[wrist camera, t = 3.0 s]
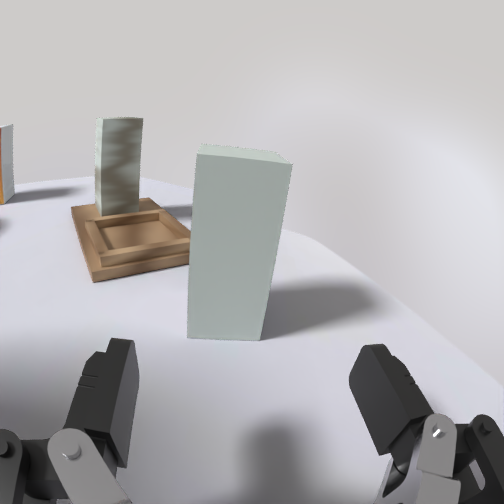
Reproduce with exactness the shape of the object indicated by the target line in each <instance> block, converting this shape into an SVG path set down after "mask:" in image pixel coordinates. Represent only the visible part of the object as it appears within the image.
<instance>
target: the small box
mask: <svg viewBox="0 0 504 504" xmlns="http://www.w3.org/2000/svg"><path fill="white" fill-rule="evenodd" d="M14 194H15V191H14V175H13V124H11V125H5V126H0V204H5V203H6V202H7V201H8V200H9V199H10V198H11V197H12V196H13V195H14Z"/></svg>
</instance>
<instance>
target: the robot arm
mask: <svg viewBox="0 0 504 504" xmlns="http://www.w3.org/2000/svg"><path fill="white" fill-rule="evenodd" d="M410 375H411V374H410V373H409V371H408V369H407V368H406V366H405V365H404V364H403V363H402V362H401V361H400V360H399V359H397V358H396V357H395V356H392V355H391V353H390V352H389V350H388V349H387V347H386V346H385V345H384V344H373V345H365V346H363V347H362V349H361V351H360V353H359V355H358V357H357V360H356V362H355V364H354V366H353V368H352V370H351V372H350V375H349V386H350V389H351V391H352V394H353V396H354V398H355V400H356V403H357V405H358V407H359V410H360V412H361V414H362V416H363V419H364V421H365V423H366V426H367V428H368V430H369V433H370V435H371V438H372V440H373V442H374V445H375V447H376V449H377V452H378V454H379V456H380V455H384V454H388V453H391V455H392V458H391V459H390V460H389V463H388V466H387V469H386V472H385V475H384V478H383V481H382V484H381V486H380V489H379V492H378V495H377V497H376V500H375V502H374V503H373V504H504V436H503V434H502V432H501V431H500V429H499V427H498V426H497V424H496V422H495V421H494V420H493V419H492V418H491V417H489V416H487V415H483V414H480V415H477V416H476V417H475V418H474V419H473V420H472V421H471V422H470V424H454V423H453V421H452V420H451V419H450V418H448V417H447V416H445V415H442V414H435V413H434V412H433V410H432V409H431V407H430V405H429V404H428V402H427V400H426V399H425V397H424V395H423V394H422V392H421V390H420V389H419V387H418V385H417V384H415V381H414V379H413V377H412V376H410ZM138 388H139V369H138V363H137V356H136V350H135V343H134V341H133V340H126V339H118V338H111V340H110V342H109V345H108V348H107V351H106V353H105V352H98V351H96V352H95V353H94V354H93V355H92V356H91V357H90V358H89V359H88V360H87V361H86V364H85V366H84V369H83V372H82V376H81V377H80V380H79V383H78V387H77V389H76V392H75V395H74V398H73V401H72V404H71V407H70V410H69V413H68V417H67V420H66V423H65V425H64V427H63V429H62V430H60V431H58V432H56V433H55V434H54V435H53V436H52V437H51V438H49V439H43V440H20V439H19V438H18V437H17V436H16V435H15V434H14V433H13V432H11V431H9V430H6V429H0V504H56V501H57V499H70V500H71V502H72V504H133V503H132V502H131V501H130V499H129V498H128V497H127V495H126V494H125V492H124V491H123V490H122V488H121V487H120V485H119V484H118V482H117V481H116V471H117V467H122V468H127V460H128V452H129V445H130V437H131V431H132V424H133V417H134V411H135V405H136V399H137V394H138ZM475 459H476V461H477V463H478V465H479V467H480V469H481V471H482V474H483V476H484V478H485V482H486V483H485V487H484V489H483V490H480V489H479V487H478V484H477V482H476V480H475V478H474V475H473V473H472V471H471V469H470V467H469V464H470V463H472V462H473V461H474V460H475Z"/></svg>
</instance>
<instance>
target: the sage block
mask: <svg viewBox="0 0 504 504" xmlns="http://www.w3.org/2000/svg"><path fill="white" fill-rule="evenodd" d="M292 165H293V164H291V163H290V162H289V161H287V160H286V159H284V158H283V157H281V156H280V155H279V154H277V153H276V152H272V151H265V150H257V149H248V148H239V147H229V146H219V145H207V144H201V146H200V148H199V150H198V153H197V159H196V170H195V182H194V193H193V206H192V221H191V237H190V255H189V278H188V310H187V338H197V339H217V340H245V341H260V337H261V332H262V327H263V322H264V317H265V312H266V307H267V302H268V297H269V292H270V287H271V282H272V276H273V271H274V266H275V261H276V255H277V250H278V244H279V239H280V234H281V228H282V222H283V216H284V211H285V206H286V200H287V194H288V189H289V183H290V177H291V171H292Z"/></svg>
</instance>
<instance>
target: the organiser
mask: <svg viewBox="0 0 504 504" xmlns="http://www.w3.org/2000/svg"><path fill="white" fill-rule="evenodd" d="M142 126H143V118H135V117H124V118H123V117H122V118H121V117H120V118H119V117H118V118H97V125H96V146H95V204H90V205H82V206H75V207H71V212H72V217H73V221H74V224H75V228H76V231H77V235H78V238H79V242H80V245H81V248H82V251H83V255H84V258H85V261H86V264H87V267H88V270H89V273H90V275H91V278H92V281H93V282H98V281H103V280H108V279H113V278H118V277H123V276H128V275H133V274H138V273H143V272H148V271H153V270H158V269H163V268H168V267H173V266H178V265H184V264H189V255H190V237H191V231H189V230H188V229H187V228H186V227H185V226H183V225H182V224H181V223H180V222H179V221H177V220H176V219H175V218H174V217H173V216H171V215H170V214H169V213H168V212H167V211H165V210H164V209H162V208H161V207H160V206H159V205H157V204H156V203H155V202H154V201H153V200H152V199H150V198H141V199H139V179H140V156H141V140H142Z"/></svg>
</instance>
